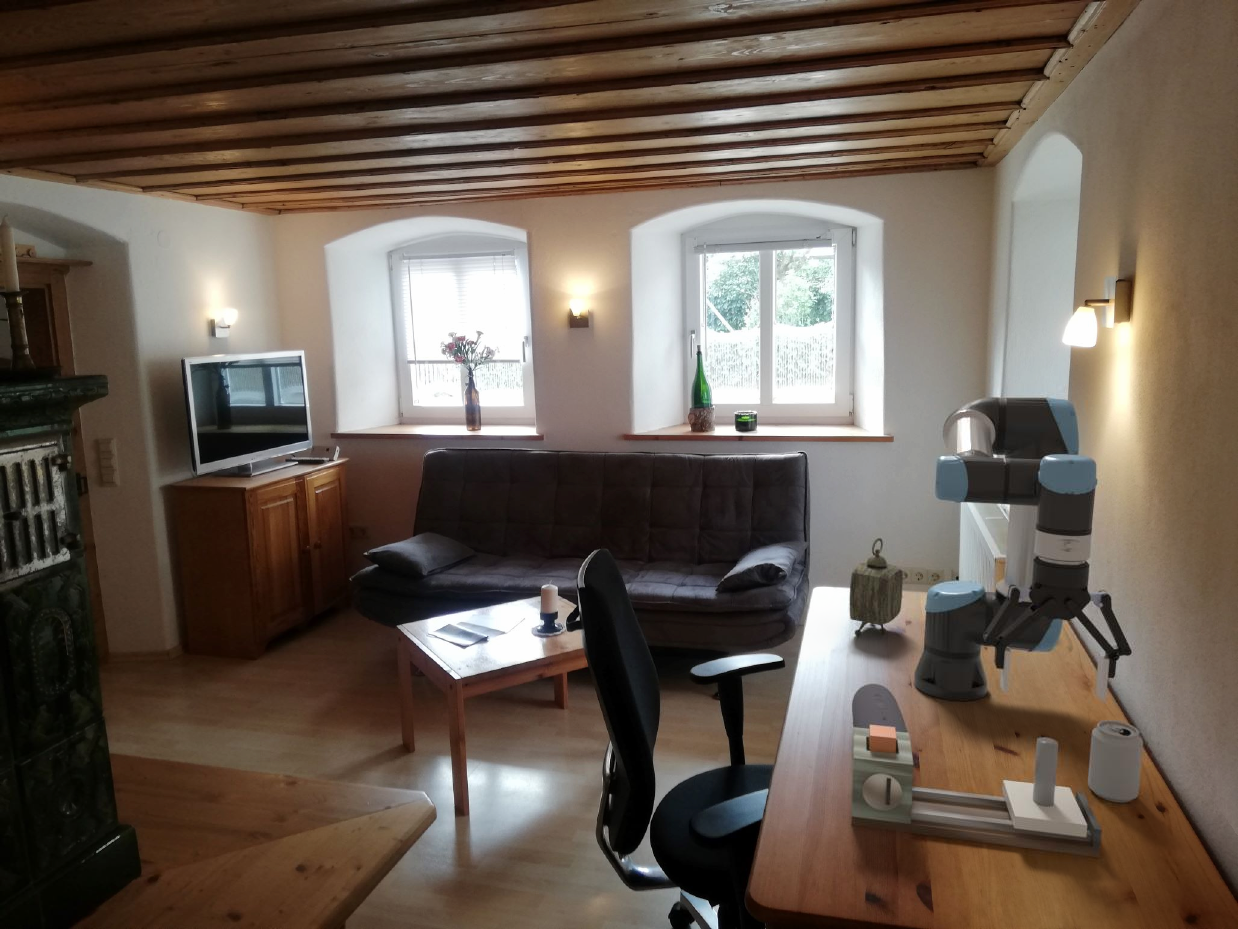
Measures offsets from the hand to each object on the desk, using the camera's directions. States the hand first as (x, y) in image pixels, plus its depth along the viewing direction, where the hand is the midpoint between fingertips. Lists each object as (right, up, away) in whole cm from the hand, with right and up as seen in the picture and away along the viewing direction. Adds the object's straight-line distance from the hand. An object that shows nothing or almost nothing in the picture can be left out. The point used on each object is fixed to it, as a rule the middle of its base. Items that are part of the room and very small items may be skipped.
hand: (1051, 692), depth 134 cm
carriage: (0, -20, +3) cm, 20 cm away
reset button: (-24, -11, +8) cm, 27 cm away
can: (+18, -21, +15) cm, 31 cm away
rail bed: (-10, -22, +7) cm, 26 cm away
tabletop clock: (0, -9, +93) cm, 93 cm away
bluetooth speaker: (-18, -19, +28) cm, 39 cm away
